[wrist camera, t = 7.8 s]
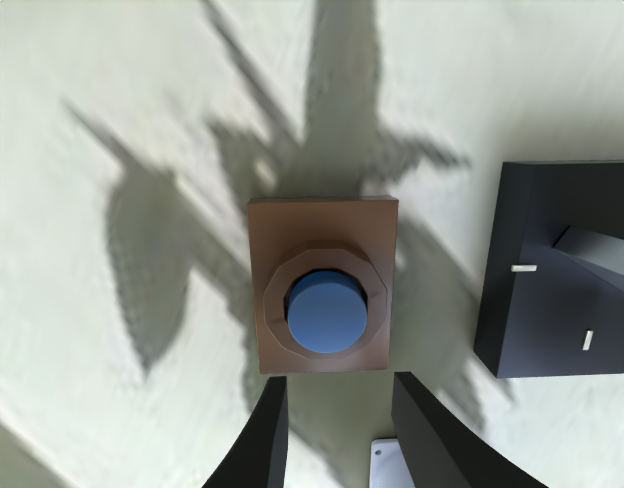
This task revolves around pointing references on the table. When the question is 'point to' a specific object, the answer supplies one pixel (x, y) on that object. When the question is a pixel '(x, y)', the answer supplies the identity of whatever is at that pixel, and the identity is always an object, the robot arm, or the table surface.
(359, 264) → the button block
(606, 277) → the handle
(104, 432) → the table surface
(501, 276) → the tap deck
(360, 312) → the button
